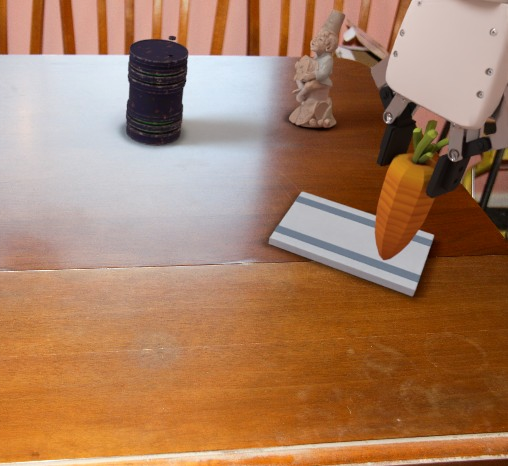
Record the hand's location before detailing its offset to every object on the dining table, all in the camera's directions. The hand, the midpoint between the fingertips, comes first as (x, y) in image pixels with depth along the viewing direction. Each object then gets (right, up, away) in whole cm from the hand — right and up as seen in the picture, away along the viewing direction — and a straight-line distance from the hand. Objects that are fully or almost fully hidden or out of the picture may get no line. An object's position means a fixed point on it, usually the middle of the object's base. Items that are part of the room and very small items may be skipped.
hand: (414, 175), depth 59 cm
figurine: (+5, +16, +64) cm, 66 cm away
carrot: (-1, -8, +6) cm, 10 cm away
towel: (+4, -7, +34) cm, 35 cm away
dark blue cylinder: (-24, +13, +57) cm, 63 cm away
